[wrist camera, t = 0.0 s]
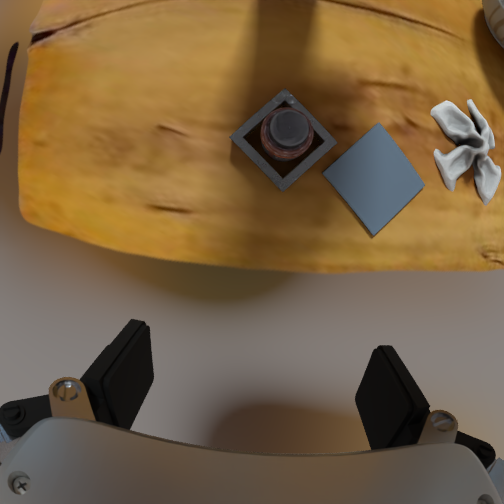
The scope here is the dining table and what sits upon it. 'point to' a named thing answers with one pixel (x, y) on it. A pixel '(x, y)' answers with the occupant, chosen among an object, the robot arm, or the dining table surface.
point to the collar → (258, 119)
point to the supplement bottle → (286, 134)
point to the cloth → (467, 148)
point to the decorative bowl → (495, 18)
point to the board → (374, 178)
